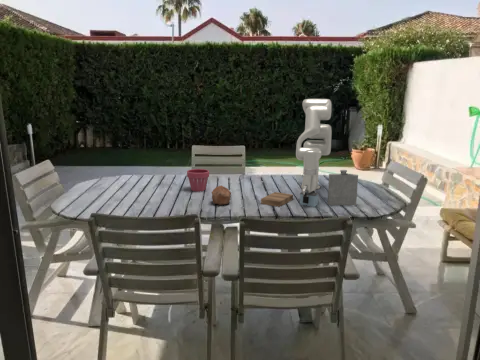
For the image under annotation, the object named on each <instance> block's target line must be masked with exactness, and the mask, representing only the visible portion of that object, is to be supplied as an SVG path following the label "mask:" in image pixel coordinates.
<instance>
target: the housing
mask: <svg viewBox="0 0 480 360" xmlns="http://www.w3.org/2000/svg"><path fill="white" fill-rule="evenodd" d="M308 197H309V203H308V204H306V203H303V192H302V191H301V192H300V193H299V205H301V206H306V205H307V206H308V207H313V208H315V207H316V205H317V206H318V205H319V193H318V192H315V193H314V192H310V193H309V195H308Z"/></svg>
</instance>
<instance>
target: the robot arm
mask: <svg viewBox="0 0 480 360" xmlns="http://www.w3.org/2000/svg"><path fill="white" fill-rule="evenodd" d="M301 105H302V109H303V111H304V114H305V124H304V131H303V132H302V133H301V134H300V135H299V136H298V139H297V141H296V144H295V145H296V147H295V157H296V159H297V160H299V161H303V170H302V171H303V172H302V173H303V177H302V184H301V185H300V188H301V192H303V203H306V204H308V203H309V197H308V195H309V193H310V192H314V193H316V190H319V189H320V188H321V186H320V185H319V182H320V180H319V167H320V166H319V165H320V161H319V160H320V159H322V158H321V157H322V156H329V155H330V154H331V150H332V126H331V124H328V123H327V124H325V123H321V121H329V120H331V117H332V100H331V99H329V98H305V99H303V101H302V104H301ZM306 139H307V140H306ZM308 139H309V140H308ZM312 139H313V140H312ZM305 140H306V141H305ZM302 144H303V147H302Z"/></svg>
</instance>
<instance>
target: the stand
mask: <svg viewBox="0 0 480 360" xmlns="http://www.w3.org/2000/svg"><path fill="white" fill-rule="evenodd" d="M293 200H294V194H292V193H285V192H284V193H283V192H277V191H274V192H273V193H270V194H268V195H266V196H263V197H261V198H260V204H261V205H267V206H272V207H277V206H278V207H279V208H280V206H281V207H282V206H284V205H286V204H288V203H289V202H291V201H293Z"/></svg>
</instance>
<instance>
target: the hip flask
mask: <svg viewBox="0 0 480 360" xmlns="http://www.w3.org/2000/svg"><path fill="white" fill-rule="evenodd" d="M339 172H340V173H329V174H328V188H327V189H328V191H327V206H350V205H356V206H357V197H358V184H359V183H358V182H359V175H358V174H356V173H355V174H354V173H347V172H348V170H347V169H340V171H339Z"/></svg>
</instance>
